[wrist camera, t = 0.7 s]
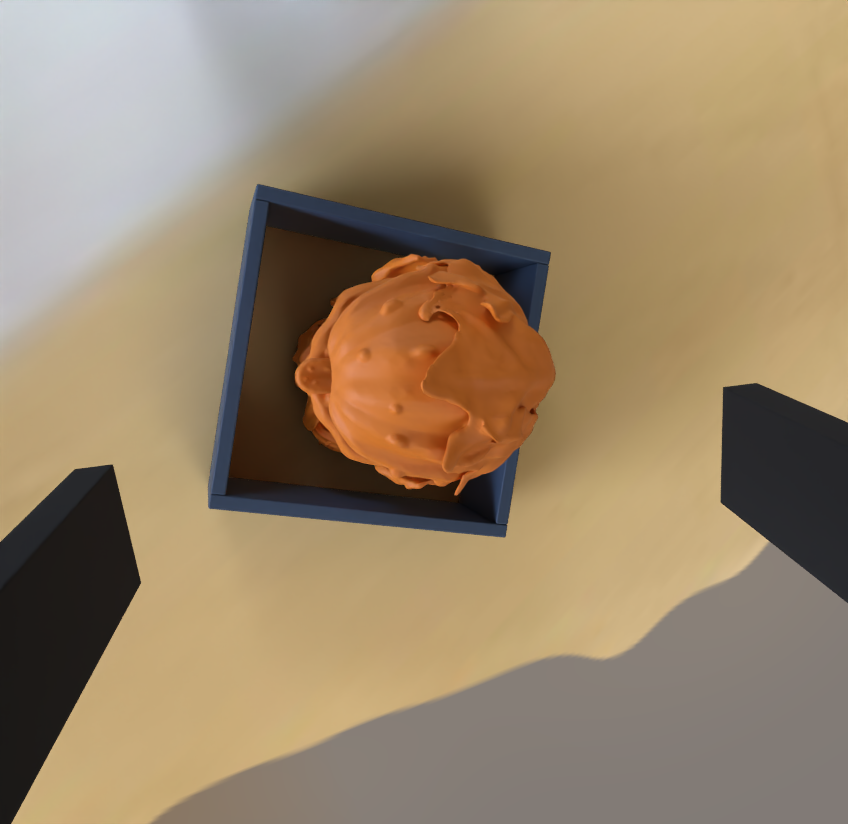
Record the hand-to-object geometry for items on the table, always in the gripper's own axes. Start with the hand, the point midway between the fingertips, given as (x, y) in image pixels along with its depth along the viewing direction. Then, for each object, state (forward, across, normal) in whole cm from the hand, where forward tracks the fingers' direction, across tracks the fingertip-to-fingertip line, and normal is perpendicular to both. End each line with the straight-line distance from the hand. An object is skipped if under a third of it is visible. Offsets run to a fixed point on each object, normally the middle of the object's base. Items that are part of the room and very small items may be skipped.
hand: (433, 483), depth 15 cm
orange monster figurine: (+27, -1, -4) cm, 27 cm away
